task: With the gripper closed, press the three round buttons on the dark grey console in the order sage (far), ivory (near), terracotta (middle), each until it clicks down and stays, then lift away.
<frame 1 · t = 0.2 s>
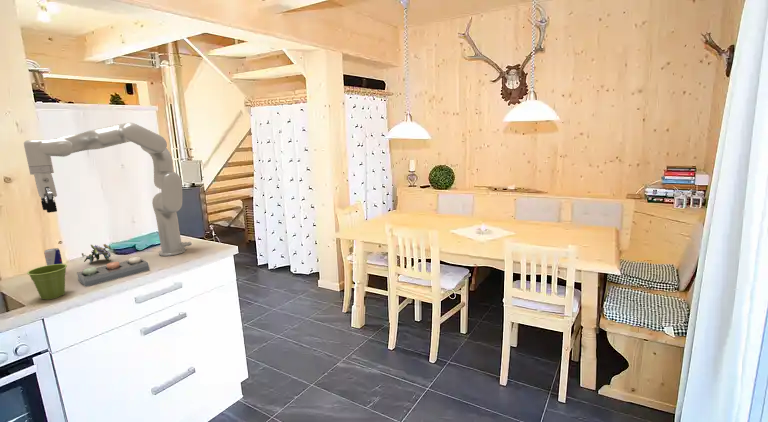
hand: (50, 210, 167), 31 cm above the countertop, tool pointing down, fingers open, 9 cm apart
console: (115, 275, 175), on the countertop
plant pot: (53, 296, 154), on the countertop
terracotta button: (113, 265, 174), point 4 cm above the countertop, slide at 0.0 cm
ivory button: (134, 260, 180), point 4 cm above the countertop, slide at 0.0 cm
sage button: (89, 271, 168), point 4 cm above the countertop, slide at 0.0 cm
energy drink: (57, 275, 178), on the countertop
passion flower: (99, 263, 194), on the countertop
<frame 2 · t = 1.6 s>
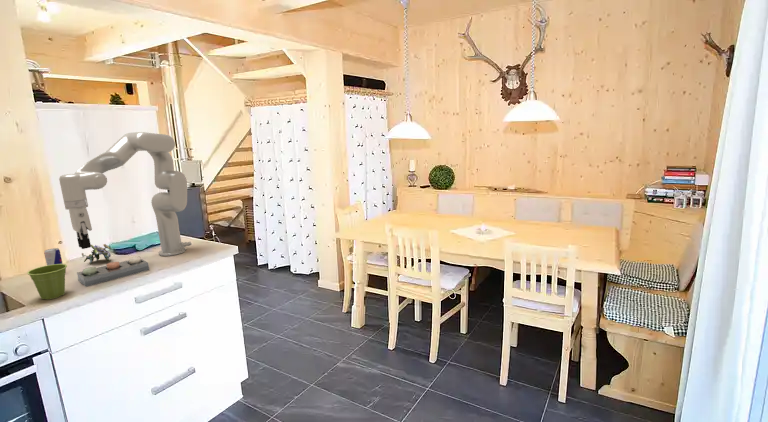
hand: (85, 246, 166), 15 cm above the countertop, tool pointing down, fingers open, 3 cm apart
nothing on the countertop moved.
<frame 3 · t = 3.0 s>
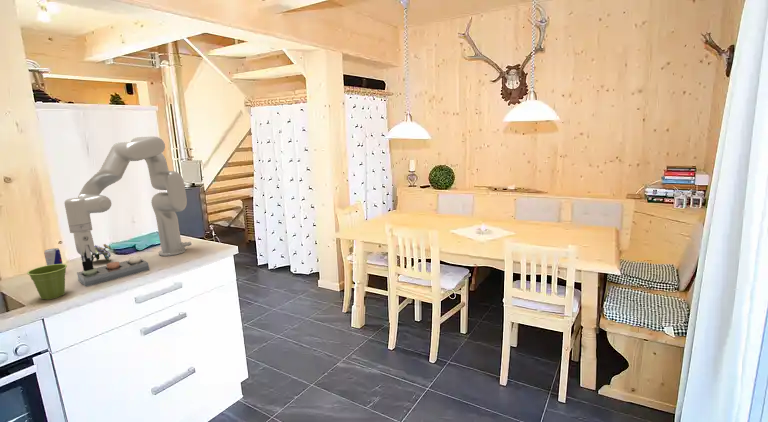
hand: (88, 269, 168), 5 cm above the countertop, tool pointing down, fingers closed
sage button: (90, 271, 168), point 4 cm above the countertop, slide at 0.3 cm, touching gripper
everything else where it was.
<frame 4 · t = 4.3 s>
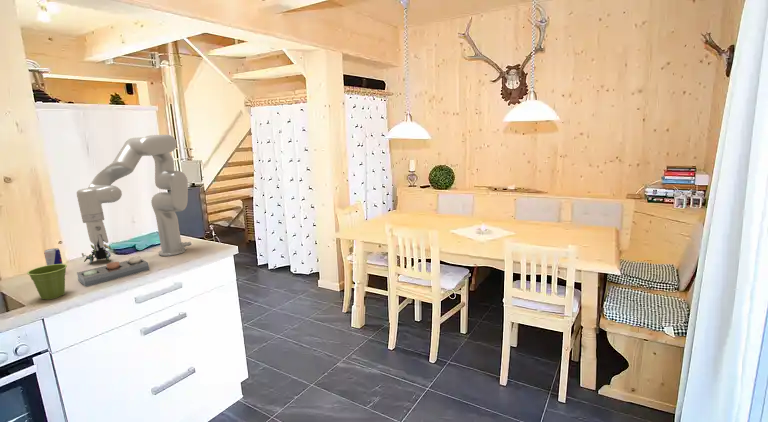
hand: (101, 258, 171), 9 cm above the countertop, tool pointing down, fingers closed
sage button: (90, 274, 168), point 3 cm above the countertop, slide at 1.4 cm
everything else where it was.
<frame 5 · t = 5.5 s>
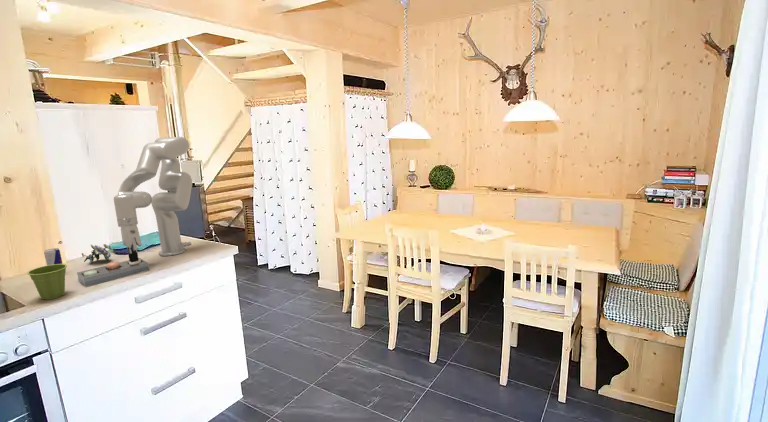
hand: (134, 261, 180), 4 cm above the countertop, tool pointing down, fingers closed
ivory button: (135, 263, 181), point 3 cm above the countertop, slide at 1.3 cm
everything else where it was.
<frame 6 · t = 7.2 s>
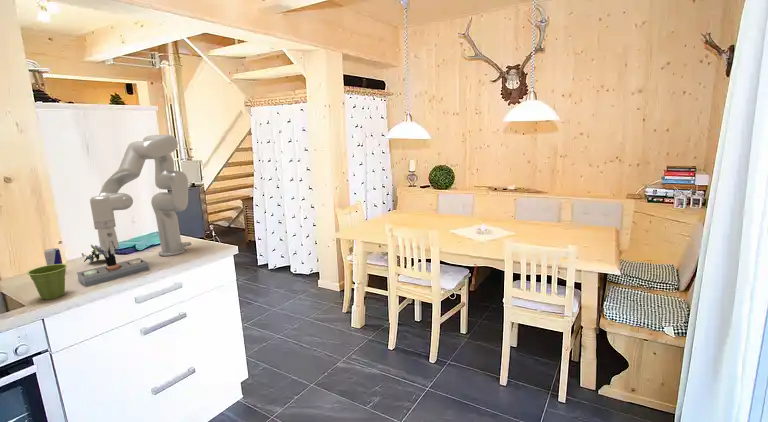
hand: (111, 265, 174), 5 cm above the countertop, tool pointing down, fingers closed
terracotta button: (113, 266, 174), point 4 cm above the countertop, slide at 0.7 cm, touching gripper
everything else where it was.
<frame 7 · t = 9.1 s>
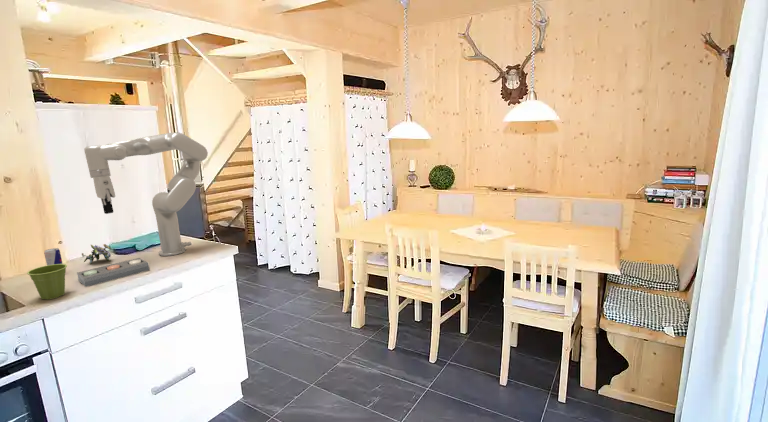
hand: (109, 213, 182), 26 cm above the countertop, tool pointing down, fingers closed
terracotta button: (113, 268, 175), point 3 cm above the countertop, slide at 1.5 cm
everything else where it was.
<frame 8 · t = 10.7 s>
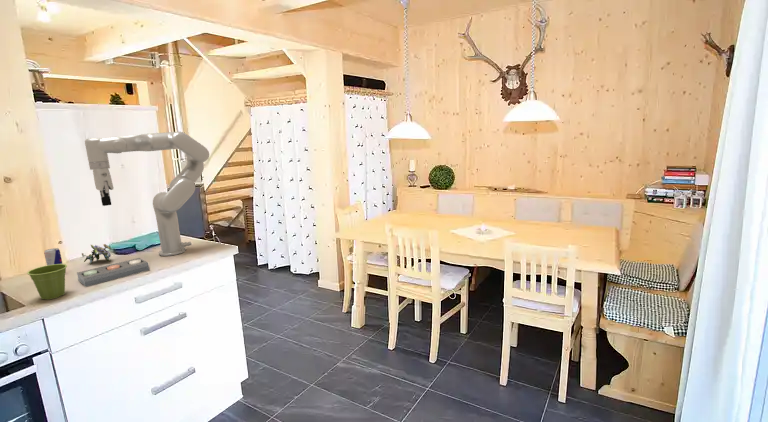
hand: (107, 205, 184), 29 cm above the countertop, tool pointing down, fingers closed
nothing on the countertop moved.
at the end: sage button slide at 1.4 cm; ivory button slide at 1.5 cm; terracotta button slide at 1.5 cm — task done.
